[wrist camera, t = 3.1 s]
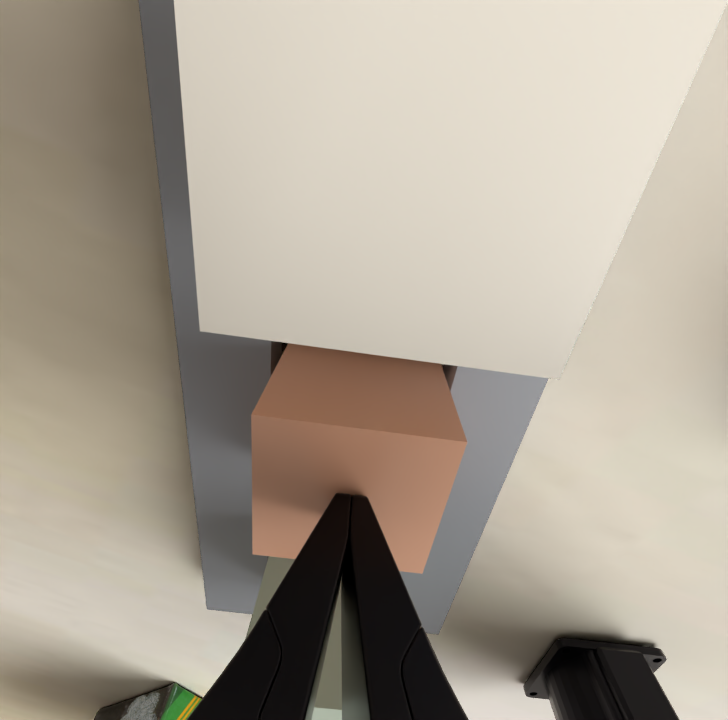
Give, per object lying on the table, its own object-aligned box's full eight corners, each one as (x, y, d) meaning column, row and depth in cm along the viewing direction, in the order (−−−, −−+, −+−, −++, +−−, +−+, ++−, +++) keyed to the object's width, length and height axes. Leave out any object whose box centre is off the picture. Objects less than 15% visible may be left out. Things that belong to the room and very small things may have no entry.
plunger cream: (473, 283, 10) (559, 380, 5) (283, 255, 9) (199, 331, 5) (542, 38, 7) (806, -173, 3) (292, -5, 7) (150, -303, 3)
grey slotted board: (434, 602, 20) (438, 634, 19) (218, 578, 20) (206, 609, 18) (683, -40, 8) (746, -83, 7) (162, -134, 8) (116, -200, 7)
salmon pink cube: (408, 456, 15) (422, 573, 11) (289, 441, 15) (252, 554, 11) (436, 349, 13) (467, 442, 8) (295, 329, 13) (251, 414, 8)
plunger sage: (379, 619, 17) (380, 779, 12) (271, 607, 17) (234, 765, 12) (398, 550, 15) (408, 716, 10) (274, 536, 14) (228, 698, 10)
